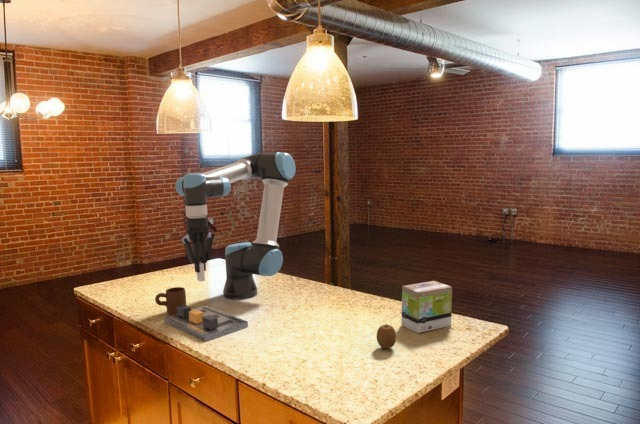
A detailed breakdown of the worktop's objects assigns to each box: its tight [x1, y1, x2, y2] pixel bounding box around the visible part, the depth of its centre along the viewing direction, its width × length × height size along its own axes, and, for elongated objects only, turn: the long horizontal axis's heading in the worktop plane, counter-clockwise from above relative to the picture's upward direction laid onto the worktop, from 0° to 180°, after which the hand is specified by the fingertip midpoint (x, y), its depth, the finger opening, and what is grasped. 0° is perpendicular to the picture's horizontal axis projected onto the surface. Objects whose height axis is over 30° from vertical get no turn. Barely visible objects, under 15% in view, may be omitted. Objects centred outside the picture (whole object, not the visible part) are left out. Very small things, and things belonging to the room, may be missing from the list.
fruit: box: [376, 323, 397, 350], centre depth 149 cm, size 6×6×8 cm
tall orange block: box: [189, 309, 204, 324], centre depth 171 cm, size 3×5×4 cm, turn 46°
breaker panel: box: [163, 304, 249, 343], centre depth 174 cm, size 18×28×6 cm, turn 46°
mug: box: [154, 286, 187, 316], centre depth 187 cm, size 12×8×9 cm, turn 128°
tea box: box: [400, 280, 453, 334], centre depth 167 cm, size 15×10×15 cm, turn 117°
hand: (201, 280), depth 172 cm, fingers closed
